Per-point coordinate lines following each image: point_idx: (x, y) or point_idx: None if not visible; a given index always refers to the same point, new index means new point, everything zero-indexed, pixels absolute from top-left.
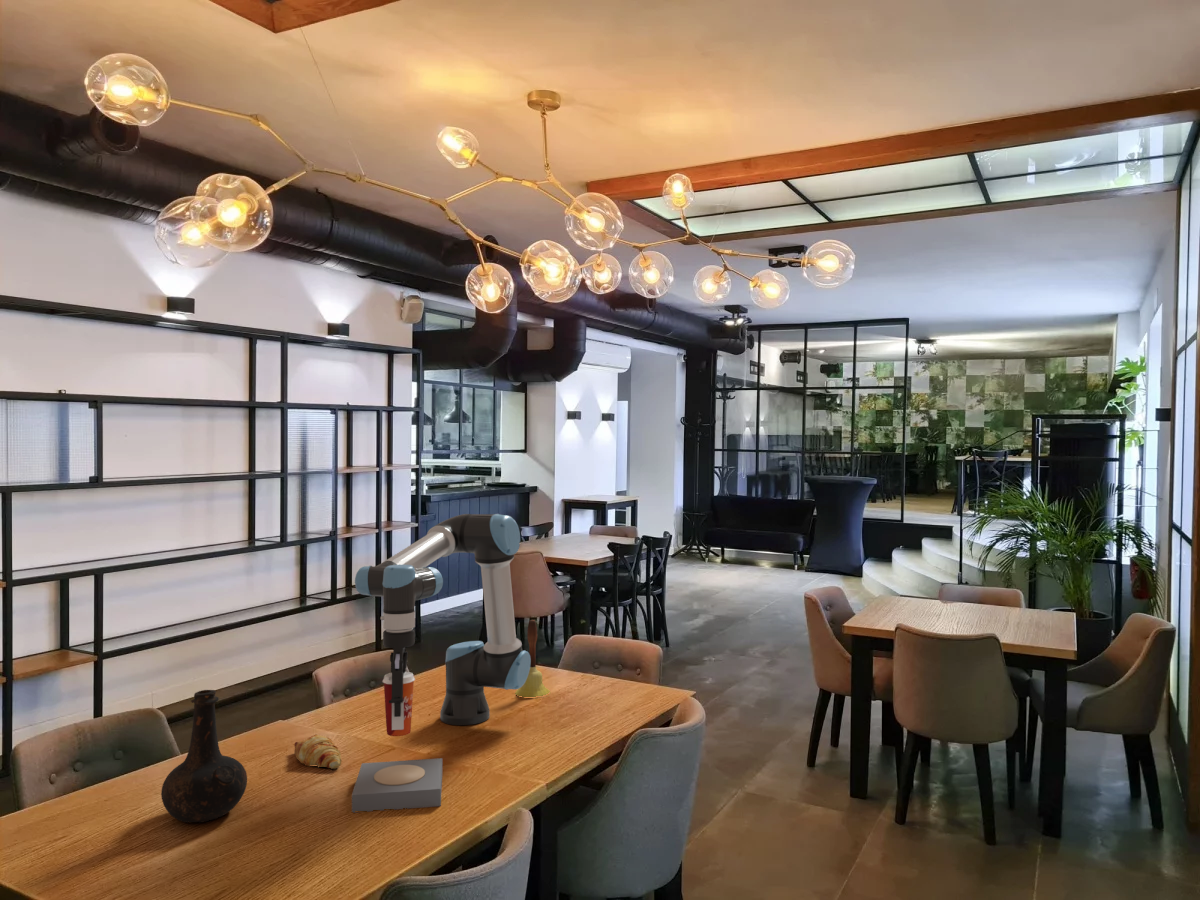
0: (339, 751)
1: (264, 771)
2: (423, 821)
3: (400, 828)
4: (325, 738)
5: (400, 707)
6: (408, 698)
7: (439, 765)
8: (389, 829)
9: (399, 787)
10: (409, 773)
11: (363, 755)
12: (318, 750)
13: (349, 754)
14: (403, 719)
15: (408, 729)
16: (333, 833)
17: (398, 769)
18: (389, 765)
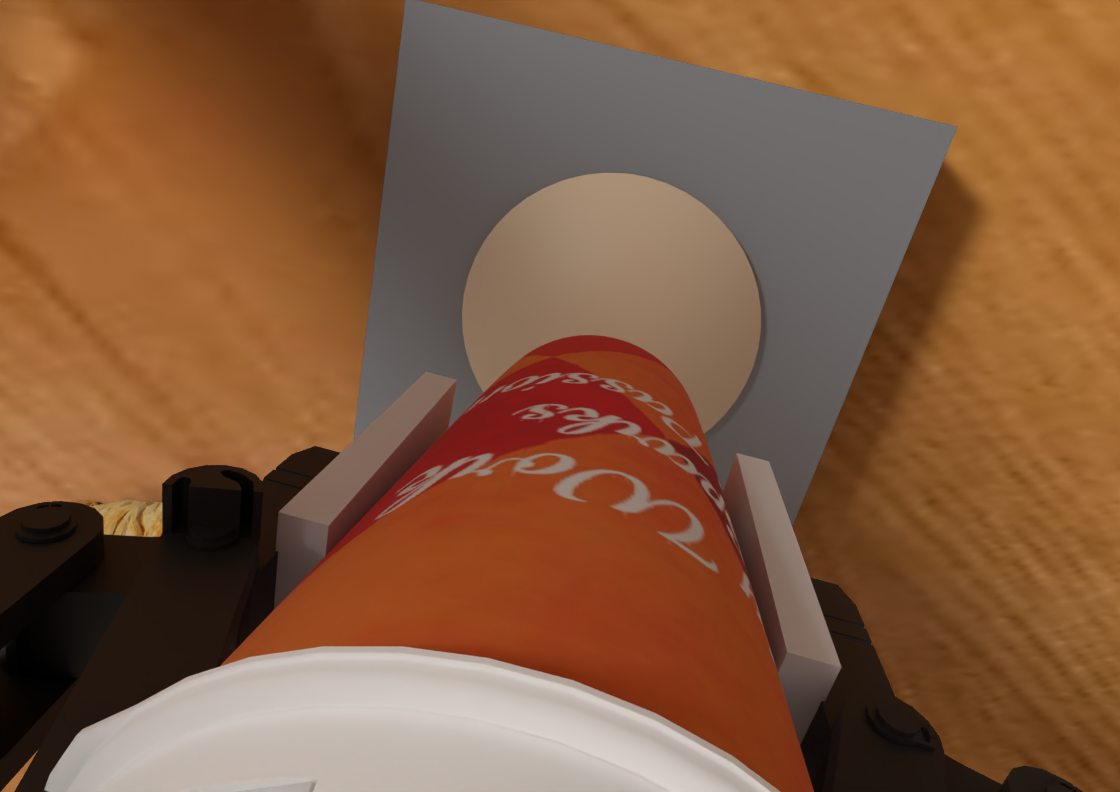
0: (113, 522)
1: None
2: (1059, 261)
3: (1066, 382)
4: None
5: (876, 671)
6: (744, 584)
7: (537, 47)
8: (1042, 430)
9: (791, 361)
10: (625, 274)
11: (74, 385)
12: None
13: (53, 440)
14: (785, 513)
15: (675, 381)
16: (929, 630)
17: (534, 323)
18: (427, 351)
